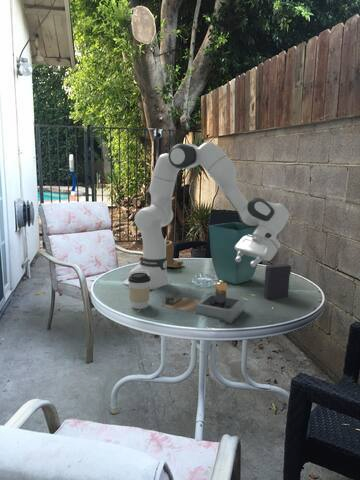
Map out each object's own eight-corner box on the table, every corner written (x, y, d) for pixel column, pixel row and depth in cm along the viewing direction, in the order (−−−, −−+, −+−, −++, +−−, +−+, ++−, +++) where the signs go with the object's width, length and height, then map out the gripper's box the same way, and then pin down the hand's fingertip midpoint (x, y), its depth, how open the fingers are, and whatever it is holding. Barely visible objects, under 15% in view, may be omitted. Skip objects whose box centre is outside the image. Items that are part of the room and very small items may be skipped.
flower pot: (206, 279, 212) (208, 225, 207) (232, 272, 226) (234, 221, 220) (235, 288, 198) (238, 230, 192) (261, 280, 211) (264, 226, 205)
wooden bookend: (151, 267, 233) (151, 242, 230) (159, 263, 243) (159, 238, 241) (176, 270, 227) (176, 244, 224) (183, 265, 238) (184, 240, 235)
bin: (195, 316, 161) (195, 304, 160) (209, 304, 175) (210, 293, 174) (231, 323, 155) (231, 311, 154) (243, 311, 168) (244, 299, 167)
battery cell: (212, 312, 164) (214, 281, 161) (216, 308, 167) (218, 278, 165) (223, 314, 162) (224, 283, 159) (226, 310, 166) (228, 280, 163)
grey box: (283, 294, 189) (285, 263, 186) (289, 297, 185) (291, 265, 182) (262, 297, 185) (264, 265, 182) (268, 300, 181) (270, 267, 178)
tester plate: (161, 309, 169) (161, 298, 168) (176, 299, 181) (176, 289, 180) (192, 315, 163) (192, 304, 162) (206, 304, 175) (206, 294, 174)
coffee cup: (124, 308, 169) (123, 273, 166) (141, 303, 175) (140, 269, 172) (137, 314, 162) (137, 278, 160) (155, 309, 169) (155, 274, 166)
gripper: (242, 229, 178) (224, 254, 175) (276, 236, 161) (256, 263, 158) (250, 238, 182) (232, 262, 178) (284, 246, 164) (265, 273, 161)
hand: (244, 263), depth 168 cm, fingers open, 8 cm apart
